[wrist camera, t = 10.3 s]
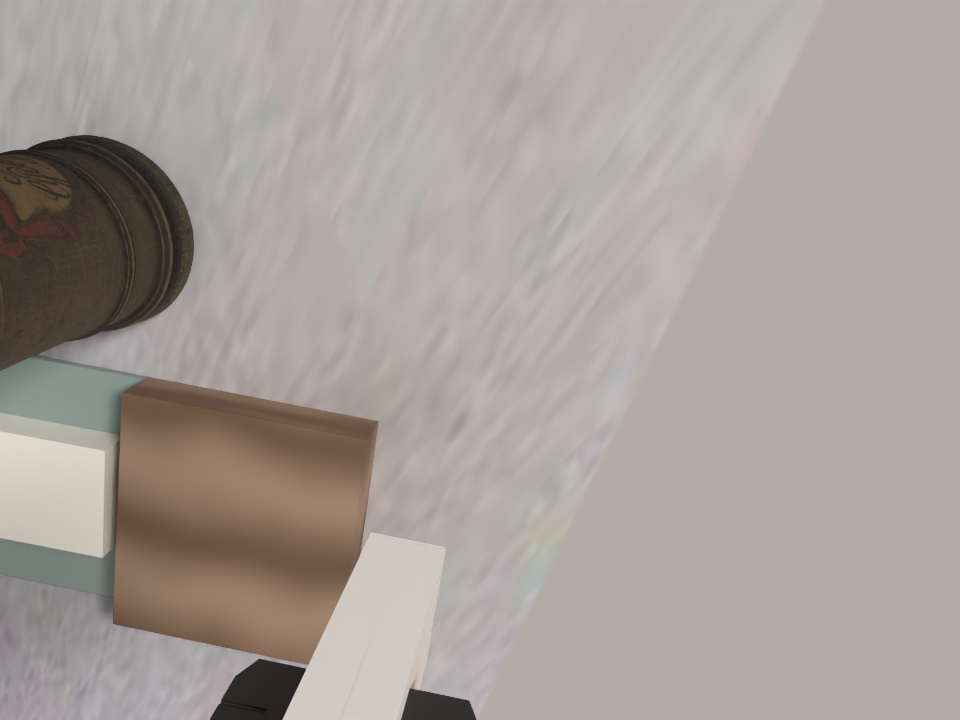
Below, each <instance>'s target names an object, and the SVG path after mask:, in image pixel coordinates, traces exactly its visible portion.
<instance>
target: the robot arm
mask: <svg viewBox="0 0 960 720" xmlns="http://www.w3.org/2000/svg"><path fill="white" fill-rule="evenodd" d="M445 550H446V547H441V546H436V545H431V544H426V543H421V542H416V541H411V540H406V539H401V538H396V537H391V536H386V535H381V534H376V533H371V534H370V536H369V538H368V540H367V542H366V544H365V546H364V548H363V551H362V553H361V555H360V557H359V559H358V561H357V563H356V565H355V568H354V570H353V572H352V574H351V576H350V578H349V580H348V582H347V584H346V587H345V589H344V591H343V593H342V595H341V597H340V599H339V601H338V603H337V606H336V608H335V610H334V612H333V614H332V616H331V618H330V620H329V622H328V625H327V627H326V629H325V631H324V633H323V635H322V637H321V639H320V641H319V644H318V646H317V648H316V650H315V652H314V654H313V656H312V658H311V661H310V663H309V665H308V667H307V669H305V668H300V667H296V666H291V665H286V664H281V663H276V662H272V661H267V660H262V659H259V660H257V661H256V662H254V663H253V664H252V665H250V666H249V667H248V668H246V669H245V670H243V671H242V672H241V673H239V674H238V675H237V676H235V678H234V679H233V681H232V683H231V684H230V686H229V688H228V690H227V691H226V693H225V695H224V696H223V698H222V700H221V704H219V705H218V706H217V708H216V710H215V711H214V713H213V715H212V717H211V718H210V720H476V717H475V715H474V712H473V709H472V707H471V704H470V701H468V700H463V699H459V698H454V697H449V696H444V695H440V694H435V693H430V692H425V691H420V690H419V689H420V685H421V681H422V677H423V673H424V670H425V666H426V661H427V655H428V649H429V643H430V637H431V632H432V626H433V620H434V614H435V608H436V602H437V597H438V591H439V585H440V579H441V573H442V567H443V562H444V556H445Z"/></svg>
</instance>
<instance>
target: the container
mask: <svg viewBox="0 0 960 720" xmlns="http://www.w3.org/2000/svg"><path fill="white" fill-rule="evenodd" d="M193 252H194V241H193V230H192V225H191V221H190V218H189V215H188V212H187V209H186V207H185V204H184V202H183V200H182V198H181V196H180V194H179V192H178V191H177V189H176V187H175V186H174V184H173V183H172V182H171V180H170V179H169V178H168V176H167V175H166V174H165V173H164V172H163V171H162V170H161V169H160V168H159V167H158V166H157V165H156V164H155V163H154V162H153V161H152V160H150V159H149V158H148V157H146V156H145V155H143V154H142V153H140V152H139V151H137V150H135V149H134V148H132V147H130V146H128V145H125V144H123V143H120V142H118V141H115V140H112V139H108V138H104V137H98V136H91V135H79V136H71V137H66V138H62V139H57V140H50V141H45V142H42V143H39V144H36V145H34V146H32V147H30V148H28V149H26V150H13V151H8V152H3V153H0V371H1V370H3V369H6V368H8V367H10V366H12V365H15V364H17V363H19V362H21V361H23V360H26V359H28V358H30V357H32V356H34V355H36V354H39V353H41V352H43V351H45V350H48V349H50V348H52V347H55V346H57V345H59V344H62V343H64V342H67V341H74V340H80V339H84V338H87V337H90V336H92V335H95V334H97V333H99V332H100V331H110V330H117V329H121V328H124V327H127V326H130V325H132V324H135V323H137V322H141V321H144V320H147V319H149V318H151V317H153V316H155V315H157V314H159V313H161V312H162V311H163V310H165V309H166V308H167V307H168V306H169V305H170V304H172V302H173V301H174V300H175V299H176V298H177V297H178V295H179V294H180V292H181V291H182V289H183V287H184V286H185V284H186V282H187V279H188V277H189V274H190V270H191V266H192V261H193Z"/></svg>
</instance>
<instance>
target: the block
mask: <svg viewBox="0 0 960 720" xmlns="http://www.w3.org/2000/svg"><path fill="white" fill-rule="evenodd" d="M119 458H120V435H117V434H112V433H107V432H101V431H96V430H90V429H85V428H80V427H74V426H69V425H64V424H58V423H53V422H48V421H42V420H37V419H31V418H26V417H21V416H15V415H10V414H5V413H0V538H3V539H8V540H13V541H18V542H23V543H29V544H34V545H39V546H44V547H49V548H54V549H59V550H64V551H70V552H75V553H80V554H85V555H90V556H95V557H100V558H103V557H104V556H105V555H106V554H107V553H108V552H109V551H110V550H111V549H112V548H113V547H114V546H116V533H117V508H118V483H119Z"/></svg>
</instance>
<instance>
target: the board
mask: <svg viewBox="0 0 960 720" xmlns="http://www.w3.org/2000/svg"><path fill="white" fill-rule="evenodd" d="M377 429H378V421H372V420H367V419H362V418H357V417H352V416H347V415H341V414H336V413H331V412H326V411H321V410H316V409H310V408H305V407H300V406H295V405H290V404H285V403H279V402H274V401H269V400H264V399H259V398H254V397H248V396H243V395H238V394H233V393H228V392H223V391H217V390H212V389H207V388H202V387H197V386H192V385H186V384H181V383H176V382H171V381H166V380H160V379H155V378H150V377H146V378H145V379H143V380H141V381H140V382H138V383H137V384H135V385H133V386H132V387H130V388H129V389H127V390H126V391H124V392H122V408H121V433H120V458H119V483H118V508H117V533H116V558H115V583H114V608H113V624H116V625H121V626H126V627H130V628H135V629H140V630H145V631H149V632H154V633H159V634H164V635H169V636H173V637H178V638H183V639H188V640H192V641H197V642H202V643H207V644H212V645H216V646H221V647H226V648H231V649H235V650H240V651H245V652H250V653H255V654H259V655H264V656H269V657H274V658H278V659H283V660H288V661H293V662H298V663H302V664H307V665H309V663H310V661H311V658H312V656H313V654H314V652H315V650H316V648H317V646H318V644H319V641H320V639H321V637H322V635H323V633H324V631H325V629H326V627H327V625H328V622H329V620H330V618H331V616H332V614H333V612H334V610H335V608H336V606H337V603H338V601H339V599H340V597H341V595H342V593H343V591H344V589H345V587H346V584H347V582H348V580H349V578H350V576H351V574H352V572H353V570H354V568H355V565H356V563H357V561H358V559H359V557H360V552H361V545H362V538H363V531H364V523H365V516H366V509H367V502H368V494H369V487H370V480H371V472H372V465H373V458H374V451H375V443H376V436H377Z"/></svg>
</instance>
